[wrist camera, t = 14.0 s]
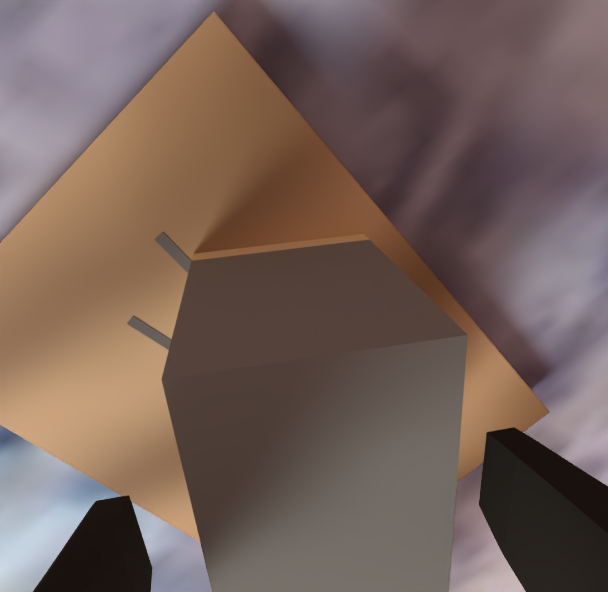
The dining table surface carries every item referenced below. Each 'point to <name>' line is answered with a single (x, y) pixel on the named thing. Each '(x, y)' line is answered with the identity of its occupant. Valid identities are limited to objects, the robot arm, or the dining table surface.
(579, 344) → the dining table surface
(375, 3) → the dining table surface
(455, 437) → the block
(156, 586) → the dining table surface
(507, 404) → the oak board
